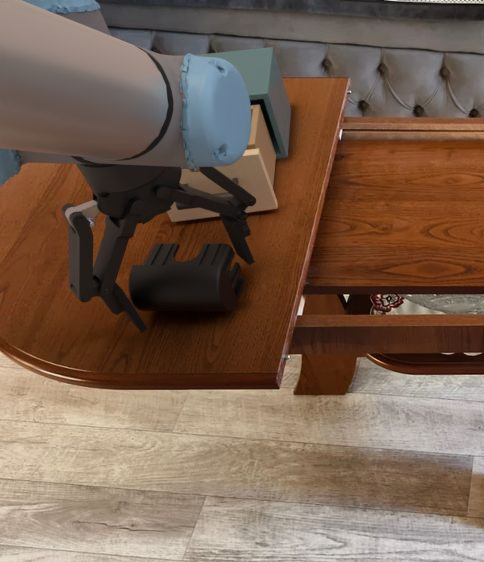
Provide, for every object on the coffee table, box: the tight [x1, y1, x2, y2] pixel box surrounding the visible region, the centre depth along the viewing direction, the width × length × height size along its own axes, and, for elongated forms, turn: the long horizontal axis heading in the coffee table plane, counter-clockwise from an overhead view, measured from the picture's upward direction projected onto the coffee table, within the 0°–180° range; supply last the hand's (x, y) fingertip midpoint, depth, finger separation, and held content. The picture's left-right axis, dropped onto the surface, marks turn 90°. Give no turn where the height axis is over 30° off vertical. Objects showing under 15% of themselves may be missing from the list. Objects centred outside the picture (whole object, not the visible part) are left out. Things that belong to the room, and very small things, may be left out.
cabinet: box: [194, 46, 292, 160], centre depth 97 cm, size 13×15×11 cm
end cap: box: [127, 242, 246, 312], centre depth 77 cm, size 10×7×7 cm
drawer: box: [166, 105, 279, 223], centre depth 87 cm, size 16×13×9 cm
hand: (194, 290), depth 78 cm, fingers open, 13 cm apart
